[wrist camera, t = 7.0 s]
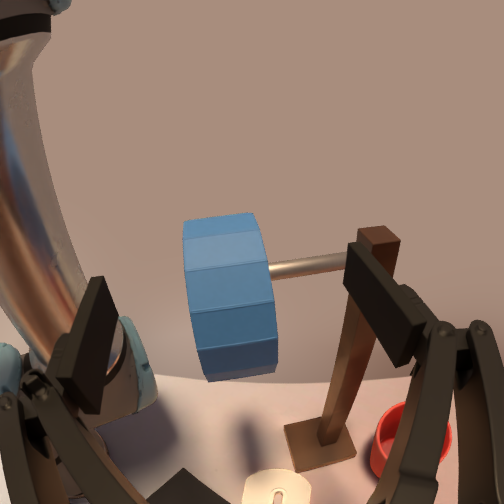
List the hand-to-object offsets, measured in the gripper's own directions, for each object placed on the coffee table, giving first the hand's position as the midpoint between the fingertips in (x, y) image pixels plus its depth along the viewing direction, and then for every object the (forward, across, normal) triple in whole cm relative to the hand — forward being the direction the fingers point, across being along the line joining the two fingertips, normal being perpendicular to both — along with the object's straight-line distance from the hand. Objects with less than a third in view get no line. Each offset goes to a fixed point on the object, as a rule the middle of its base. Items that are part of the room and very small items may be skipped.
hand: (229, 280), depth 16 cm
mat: (-4, -11, -35) cm, 37 cm away
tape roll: (+4, 0, -4) cm, 6 cm away
